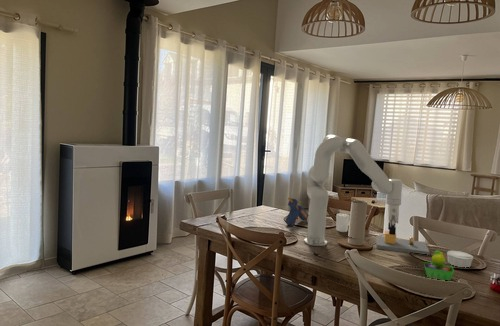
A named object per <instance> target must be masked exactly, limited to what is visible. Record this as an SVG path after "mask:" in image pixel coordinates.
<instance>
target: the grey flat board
mask: <svg viewBox="0 0 500 326" xmlns="http://www.w3.org/2000/svg"><path fill="white" fill-rule="evenodd" d="M375 246H376V249H379V250H386V251H394V252H400V253H407V254H411V253H410V252H416V253H421V254H427V255H426V256H428V255H429V256H430V254H431V253H430V250H429V248H428V245H427V244H426V241H420V240H414V244H413V245H409V239H406V238H405V239H404V238H397V237H396V244H392V243H385V242H384V236H380V235H376V236H375ZM421 254H420V255H421Z"/></svg>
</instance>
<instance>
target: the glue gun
mask: <svg viewBox="0 0 500 326" xmlns="http://www.w3.org/2000/svg"><path fill="white" fill-rule="evenodd" d="M287 199H288V204H287V205H288V207H290V208H289V212H288V214H287V216H286V219H285V223H286V225H287V226H291V227H294V226H295V223H296V222H297V220H299V219H300V220H301V221H305V222H308V216H309V212H307V211H306V210H305V208H304V207H303V206H302V205H298V203H299V201H298V200H297V199H296V198H292V197H288V198H287Z"/></svg>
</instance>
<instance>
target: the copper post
mask: <svg viewBox="0 0 500 326" xmlns="http://www.w3.org/2000/svg"><path fill="white" fill-rule="evenodd" d="M408 240H409V245H413V244H414V241H415V238H414V237H413V236H411V237H409V239H408Z"/></svg>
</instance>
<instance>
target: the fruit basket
mask: <svg viewBox="0 0 500 326" xmlns="http://www.w3.org/2000/svg"><path fill="white" fill-rule="evenodd" d="M445 262H446V258H445V255H444V253H443V252H442V251H441V250H435V251H434V253H433V255H432V256H431V262H426V261H424V262H423V265H424V269H425V270H424V271H425V275H427V276H426V278H427V277H435V278H437V279H438V278H439V279H441V280H440V281H442V280H450V281H451V280H452V277H453V275H454V273H455V270H454V268H453V267H454V266H452V265H450V264H449V265H448V264H444V263H445Z"/></svg>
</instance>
